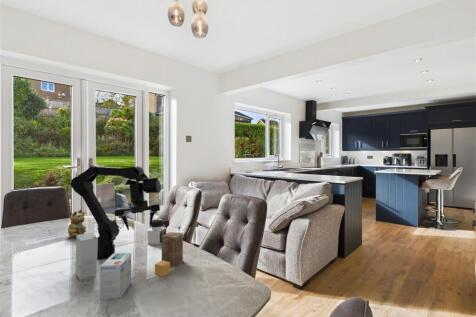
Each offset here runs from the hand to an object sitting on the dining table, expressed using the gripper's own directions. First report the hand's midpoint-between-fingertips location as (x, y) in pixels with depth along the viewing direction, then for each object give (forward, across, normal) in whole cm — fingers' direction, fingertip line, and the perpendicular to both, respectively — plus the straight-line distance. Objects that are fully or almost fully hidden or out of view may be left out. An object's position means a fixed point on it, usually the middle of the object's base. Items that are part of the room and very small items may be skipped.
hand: (139, 228), depth 116 cm
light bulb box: (+13, -8, -29) cm, 33 cm away
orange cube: (+14, +8, -21) cm, 26 cm away
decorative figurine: (+9, -36, +46) cm, 59 cm away
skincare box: (+12, -20, -12) cm, 26 cm away
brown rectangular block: (+14, +12, -12) cm, 22 cm away
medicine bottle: (+13, +8, +18) cm, 24 cm away
